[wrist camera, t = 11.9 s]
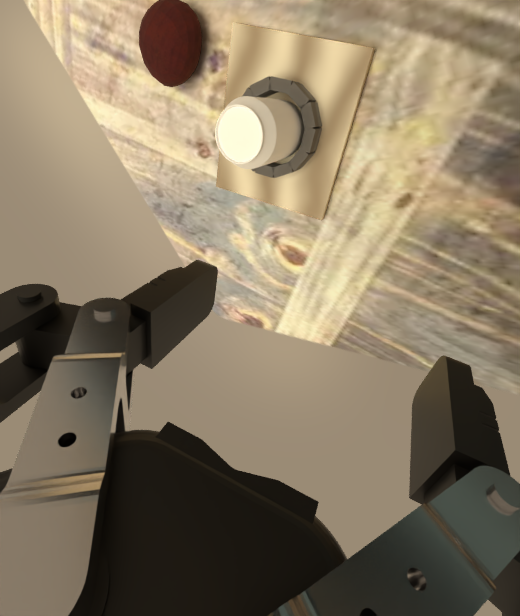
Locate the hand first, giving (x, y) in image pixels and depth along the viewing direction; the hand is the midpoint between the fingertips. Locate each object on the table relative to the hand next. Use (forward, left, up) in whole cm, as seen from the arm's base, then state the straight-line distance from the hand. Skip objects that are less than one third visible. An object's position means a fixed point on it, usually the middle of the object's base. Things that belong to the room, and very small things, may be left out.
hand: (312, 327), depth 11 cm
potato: (+29, -8, -34) cm, 46 cm away
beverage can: (+14, -2, -33) cm, 36 cm away
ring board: (+14, -2, -34) cm, 37 cm away
